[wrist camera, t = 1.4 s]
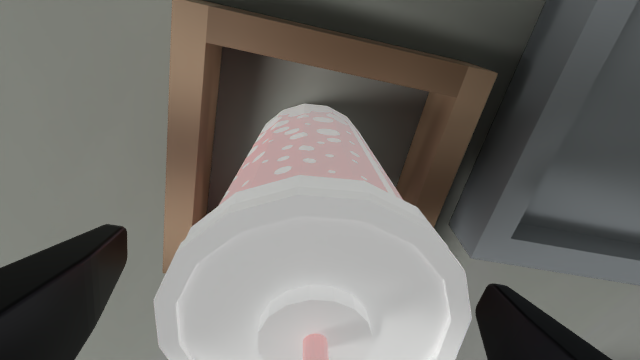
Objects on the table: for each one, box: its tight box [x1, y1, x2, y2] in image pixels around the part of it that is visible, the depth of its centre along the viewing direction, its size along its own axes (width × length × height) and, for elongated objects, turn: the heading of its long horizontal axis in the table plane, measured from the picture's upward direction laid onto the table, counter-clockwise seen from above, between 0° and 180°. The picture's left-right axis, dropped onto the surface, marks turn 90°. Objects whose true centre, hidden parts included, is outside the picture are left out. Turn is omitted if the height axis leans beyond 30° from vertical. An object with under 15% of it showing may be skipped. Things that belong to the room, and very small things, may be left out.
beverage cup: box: [153, 104, 472, 360], centre depth 9 cm, size 6×6×14 cm
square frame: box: [163, 0, 498, 273], centre depth 14 cm, size 10×10×2 cm
